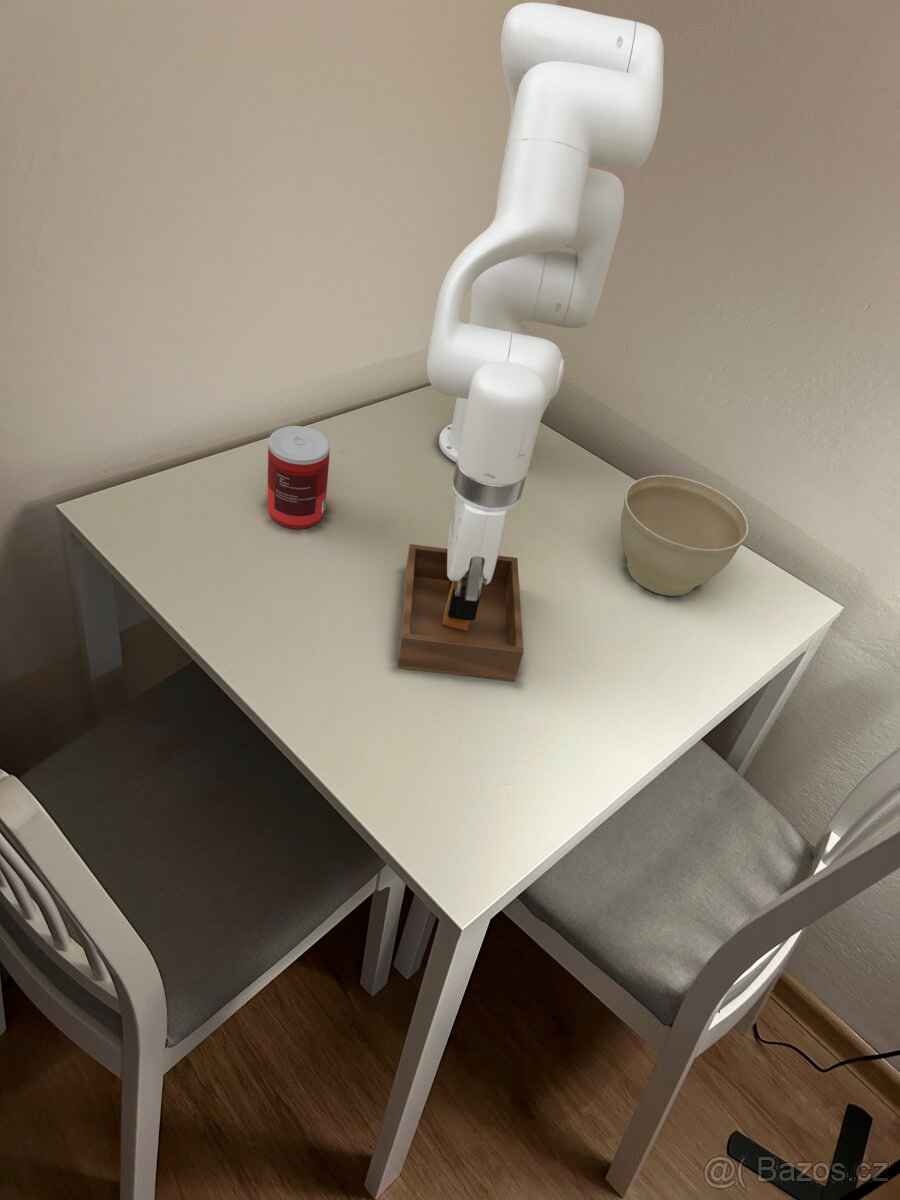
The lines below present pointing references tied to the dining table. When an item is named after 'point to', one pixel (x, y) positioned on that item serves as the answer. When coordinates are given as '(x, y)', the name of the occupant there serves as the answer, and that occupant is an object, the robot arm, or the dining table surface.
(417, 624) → the wooden tray
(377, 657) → the dining table surface
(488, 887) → the dining table surface
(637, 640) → the dining table surface
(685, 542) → the planter bowl
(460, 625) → the supplement box
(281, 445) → the canned food
